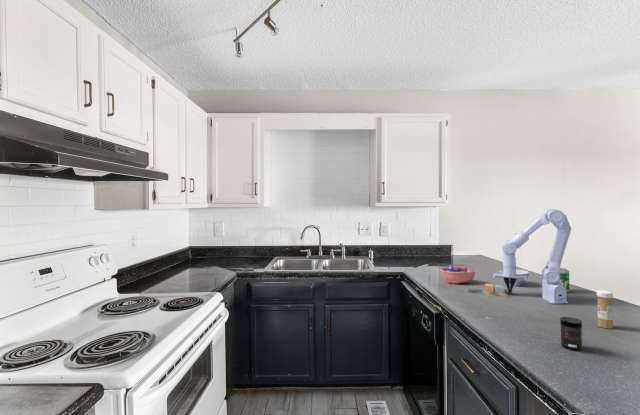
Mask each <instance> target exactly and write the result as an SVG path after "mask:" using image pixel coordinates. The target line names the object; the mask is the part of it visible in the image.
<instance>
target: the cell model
mask: <svg viewBox="0 0 640 415" xmlns="http://www.w3.org/2000/svg"><path fill="white" fill-rule="evenodd" d="M439 271H440V273H441V275H442V277H443V279H444V280H445V281H446V282H447V283H450V284H454V285H455V284H467V283H470V282H471V281H473V279H475V276H476V270H475V269H472V268H467V266H466V267H462V266H460V267H459V266H454V265H453V264H449V265H448V266H446V267H441V268H439Z"/></svg>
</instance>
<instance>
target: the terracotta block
mask: <svg viewBox="0 0 640 415" xmlns="http://www.w3.org/2000/svg"><path fill="white" fill-rule="evenodd" d="M494 288H495V284H492V283H485V284H484V291H485V292H495V291H494Z"/></svg>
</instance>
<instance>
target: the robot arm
mask: <svg viewBox="0 0 640 415" xmlns="http://www.w3.org/2000/svg"><path fill="white" fill-rule="evenodd" d="M549 224H553V225H554V227H555V229H556V230H557V231H556V232H557V233H556V235H555V239H554V241H553V245H552V248H551V252H550V254H549V258H548V261H547V263H546V265H545V267H544V268H543V269H542V271H541V275H542V276H543V279H542V280H541V289H542V290H541V292H542V293H541V295H542V297H541V298H542V299H543V300H545V301H547V302H548V303H550V304H552V305H553V304H557V305H558V304H560V305H561V304H569V302H568V301H567V293H566V288H565V287H564V286H562V285H561V283H560V281H559V280H560V268H561V264H562V261H563V257H564V255H565V250H566V248H567V244H568V241H569V238H570V235H571V231H572V226H571V225H570V222H569V220H568V217H567V215H566V214H565V213H564V212H563V211H562V210H560V209H554V208H552V209H548V210H547V211H546V212H545V213H543V214H542V215H540V216H539V217H537V218H536V219H535V220H534V221H533V222H532V223H531V224H530V225H529V226H528V227H526V228H525V230H523V231H518V232H515V233H514V235H513V236H512V237H511V238H510V239H507V241H506V242H504V244H503V245H502V248H501V249H502V252H503V253H502V269H503V273H494V272H493V277H492V278H494V279H495V278H498V279H499V278H500V279H502V278H504V280H503V281H504V283H505V286H506V289H507V294H512V291H513V288H514V287H515V286H514V284H515V282H516V279H520V280H526V281H527V280H528V278H527V276H524V275H516V269H517V258H516V252H517V249H520V248H521V247H522V246H523V245H524V244H526V243H527V242H528V241H529V240H530V237H529V236H531V235H532V234H533V233H534V232H536V231H537V230H538V229H539V228H541V227H542V226H544V225H549ZM509 279H510V285H509Z"/></svg>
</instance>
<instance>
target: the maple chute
mask: <svg viewBox="0 0 640 415" xmlns="http://www.w3.org/2000/svg"><path fill="white" fill-rule="evenodd" d="M467 293H470V294H480V295H484V296H492V297H503V298H508V296H509V293H508V288H504V293H495V287H494V292H485V290H483V289H473V288H468V290H467Z"/></svg>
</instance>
